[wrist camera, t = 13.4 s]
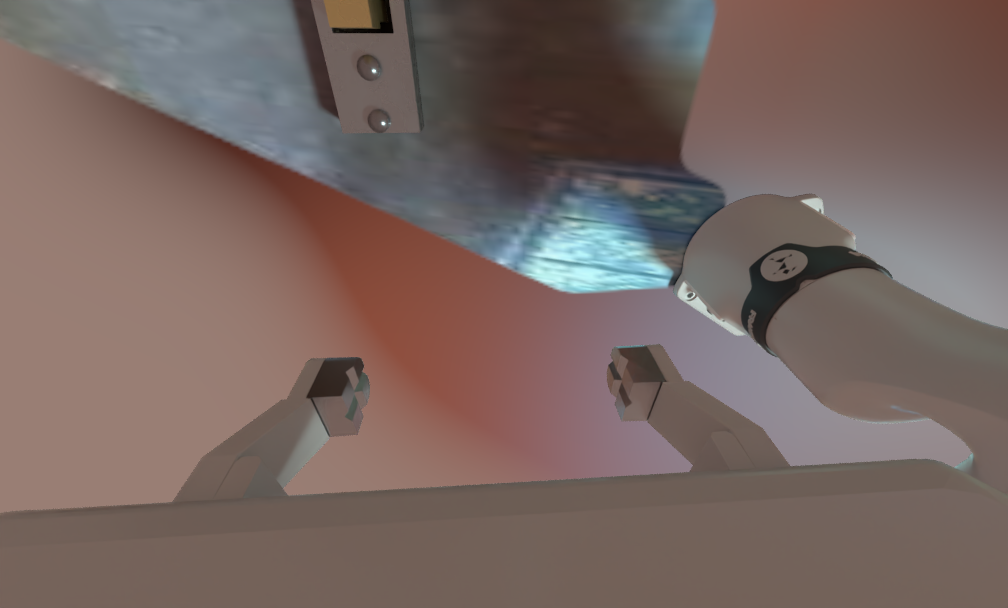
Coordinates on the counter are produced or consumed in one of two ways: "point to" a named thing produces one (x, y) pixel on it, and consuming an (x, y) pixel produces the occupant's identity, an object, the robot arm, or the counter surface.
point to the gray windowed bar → (373, 74)
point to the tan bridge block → (356, 13)
